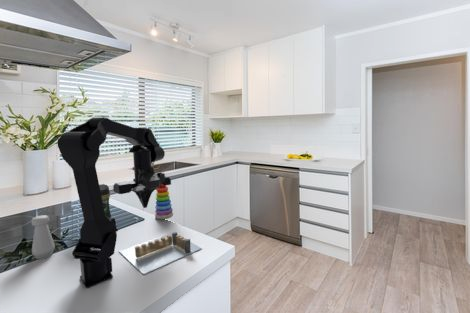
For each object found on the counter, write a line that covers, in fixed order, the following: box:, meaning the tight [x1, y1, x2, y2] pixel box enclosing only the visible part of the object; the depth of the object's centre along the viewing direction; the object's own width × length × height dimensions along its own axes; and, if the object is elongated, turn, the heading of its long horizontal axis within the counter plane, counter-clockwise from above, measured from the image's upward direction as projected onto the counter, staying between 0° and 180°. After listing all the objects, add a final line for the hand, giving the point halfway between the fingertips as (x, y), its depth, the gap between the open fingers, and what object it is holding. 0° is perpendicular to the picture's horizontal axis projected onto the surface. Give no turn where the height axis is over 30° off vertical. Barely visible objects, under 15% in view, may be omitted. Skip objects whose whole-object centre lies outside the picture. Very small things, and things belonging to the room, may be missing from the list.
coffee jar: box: [99, 183, 112, 218], centre depth 94 cm, size 10×8×19 cm
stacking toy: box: [154, 183, 174, 220], centre depth 110 cm, size 8×8×19 cm
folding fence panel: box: [135, 235, 172, 258], centre depth 79 cm, size 12×1×3 cm, turn 134°
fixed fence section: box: [171, 231, 191, 253], centre depth 82 cm, size 2×9×4 cm, turn 45°
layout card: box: [118, 231, 202, 276], centre depth 81 cm, size 20×18×1 cm
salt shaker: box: [31, 214, 56, 260], centre depth 77 cm, size 6×6×13 cm
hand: (145, 207), depth 87 cm, fingers closed
